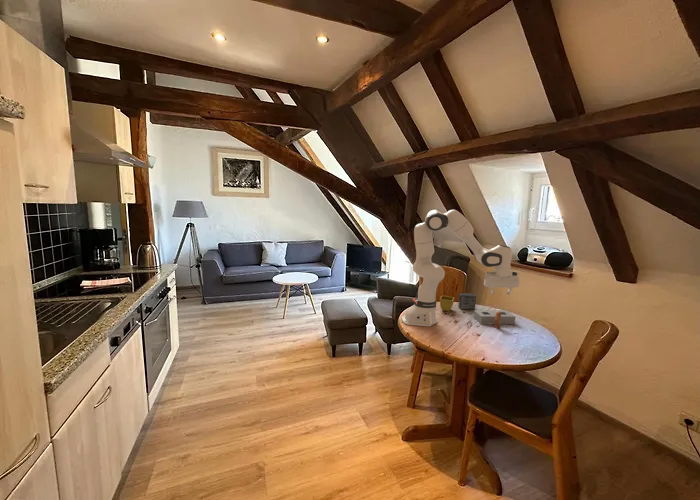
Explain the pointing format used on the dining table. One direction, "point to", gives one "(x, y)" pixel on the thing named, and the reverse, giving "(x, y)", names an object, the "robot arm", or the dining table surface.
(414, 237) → the robot arm
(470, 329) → the dining table surface
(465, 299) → the small box
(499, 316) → the peg
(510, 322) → the hole block
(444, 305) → the flower pot
